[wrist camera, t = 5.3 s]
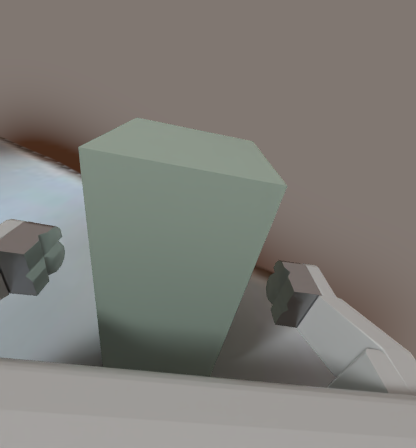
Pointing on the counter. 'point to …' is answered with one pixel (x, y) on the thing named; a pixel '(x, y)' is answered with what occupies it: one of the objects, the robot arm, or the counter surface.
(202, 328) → the pillar block
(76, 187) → the counter surface
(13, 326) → the counter surface
